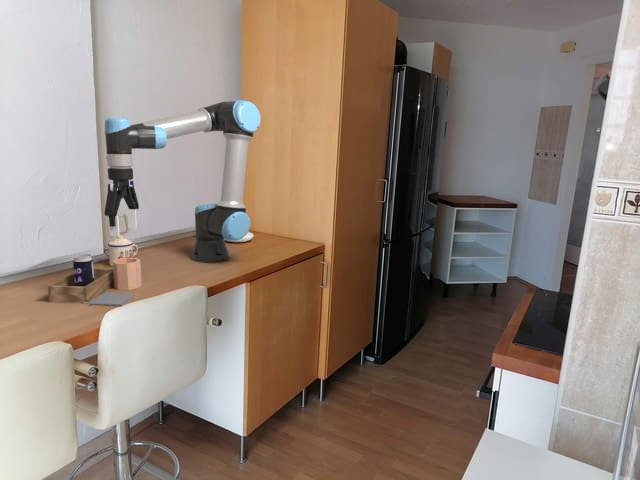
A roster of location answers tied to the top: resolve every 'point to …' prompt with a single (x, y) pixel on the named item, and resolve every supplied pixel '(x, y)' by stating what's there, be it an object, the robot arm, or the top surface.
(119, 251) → the teacup with lid
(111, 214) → the robot arm
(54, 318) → the top surface
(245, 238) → the white bowl
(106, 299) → the coaster
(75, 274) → the beverage can
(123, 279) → the pot
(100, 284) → the crate
